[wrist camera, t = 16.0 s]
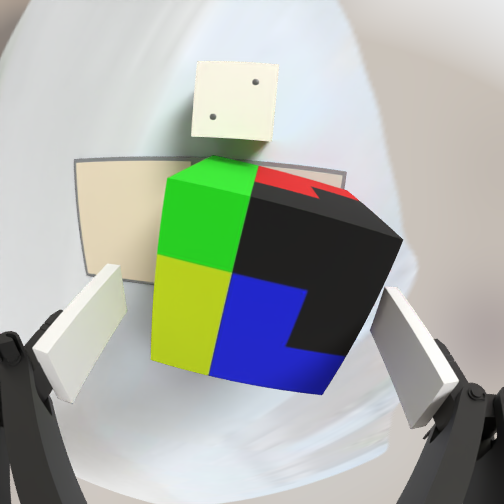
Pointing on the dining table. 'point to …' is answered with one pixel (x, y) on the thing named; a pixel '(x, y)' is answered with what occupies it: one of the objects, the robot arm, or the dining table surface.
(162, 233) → the puzzle toy
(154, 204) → the board
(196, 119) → the die
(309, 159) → the dining table surface
